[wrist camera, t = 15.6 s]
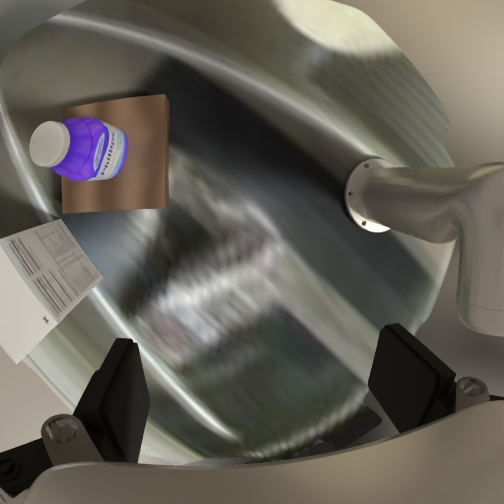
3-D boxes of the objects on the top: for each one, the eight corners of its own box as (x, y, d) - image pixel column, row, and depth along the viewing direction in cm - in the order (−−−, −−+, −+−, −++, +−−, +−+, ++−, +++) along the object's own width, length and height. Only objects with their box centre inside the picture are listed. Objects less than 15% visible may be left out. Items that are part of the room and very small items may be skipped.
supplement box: (60, 216, 41) (-3, 236, 25) (105, 277, 45) (59, 324, 28) (21, 260, 42) (-37, 293, 25) (62, 316, 46) (16, 366, 29)
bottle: (122, 182, 37) (62, 188, 20) (88, 176, 36) (16, 179, 19) (135, 131, 36) (82, 103, 19) (99, 126, 35) (33, 101, 18)
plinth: (170, 102, 40) (164, 94, 35) (168, 204, 43) (163, 208, 39) (77, 114, 38) (64, 108, 33) (76, 210, 42) (62, 213, 37)
